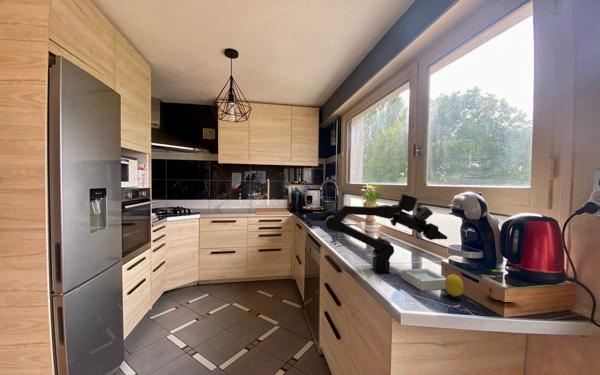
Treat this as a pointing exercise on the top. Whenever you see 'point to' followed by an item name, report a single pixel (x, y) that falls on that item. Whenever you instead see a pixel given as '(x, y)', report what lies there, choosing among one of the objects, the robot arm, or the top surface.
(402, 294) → the top surface
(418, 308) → the top surface
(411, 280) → the white square tray
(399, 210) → the robot arm
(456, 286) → the lemon
